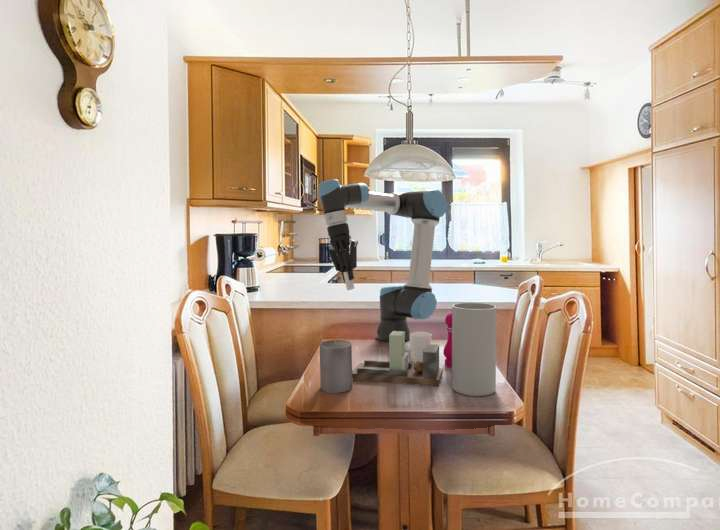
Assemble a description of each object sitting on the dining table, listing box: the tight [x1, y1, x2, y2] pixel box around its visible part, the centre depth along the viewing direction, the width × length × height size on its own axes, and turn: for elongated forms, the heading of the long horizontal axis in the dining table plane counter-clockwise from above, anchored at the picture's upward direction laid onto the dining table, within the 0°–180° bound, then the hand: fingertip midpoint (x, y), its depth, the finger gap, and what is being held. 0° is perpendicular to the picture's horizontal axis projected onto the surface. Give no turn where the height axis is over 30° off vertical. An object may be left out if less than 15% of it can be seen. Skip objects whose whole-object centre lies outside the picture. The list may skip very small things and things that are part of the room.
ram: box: [388, 331, 409, 371], centre depth 147 cm, size 5×7×12 cm
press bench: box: [352, 343, 444, 387], centre depth 148 cm, size 28×12×10 cm, turn 75°
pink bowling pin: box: [443, 309, 452, 368], centre depth 160 cm, size 7×7×20 cm
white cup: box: [409, 331, 433, 364], centre depth 165 cm, size 8×8×10 cm
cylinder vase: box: [451, 302, 497, 397], centre depth 134 cm, size 12×12×25 cm
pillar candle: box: [319, 338, 353, 394], centre depth 138 cm, size 10×10×15 cm
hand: (350, 289), depth 163 cm, fingers closed
